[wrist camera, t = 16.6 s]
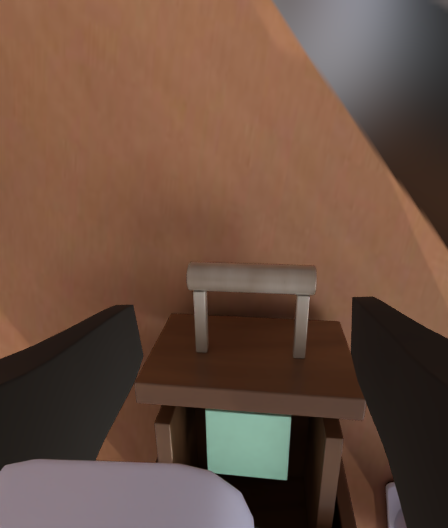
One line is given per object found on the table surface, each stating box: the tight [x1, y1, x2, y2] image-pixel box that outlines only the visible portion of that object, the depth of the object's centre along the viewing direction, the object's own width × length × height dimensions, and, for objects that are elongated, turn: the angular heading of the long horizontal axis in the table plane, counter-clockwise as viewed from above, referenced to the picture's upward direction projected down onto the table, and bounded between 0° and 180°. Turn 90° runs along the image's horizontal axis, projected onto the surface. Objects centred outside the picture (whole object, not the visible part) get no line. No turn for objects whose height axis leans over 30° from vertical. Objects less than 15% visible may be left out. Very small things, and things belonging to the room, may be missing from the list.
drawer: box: [134, 262, 366, 528], centre depth 21 cm, size 17×10×7 cm, turn 1°
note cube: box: [205, 408, 291, 480], centre depth 21 cm, size 4×4×4 cm
